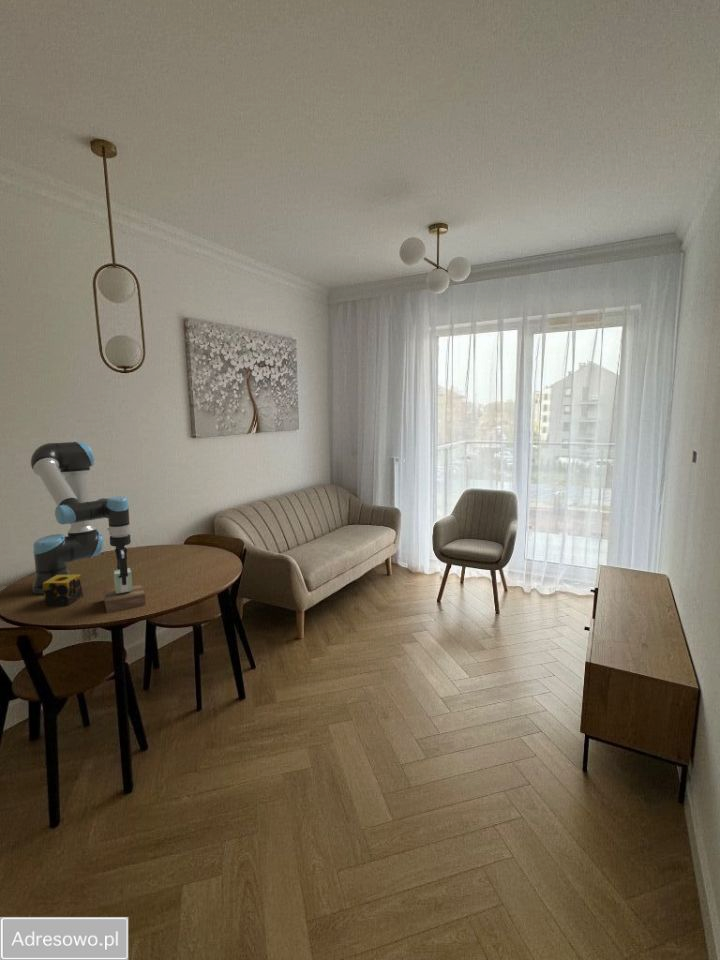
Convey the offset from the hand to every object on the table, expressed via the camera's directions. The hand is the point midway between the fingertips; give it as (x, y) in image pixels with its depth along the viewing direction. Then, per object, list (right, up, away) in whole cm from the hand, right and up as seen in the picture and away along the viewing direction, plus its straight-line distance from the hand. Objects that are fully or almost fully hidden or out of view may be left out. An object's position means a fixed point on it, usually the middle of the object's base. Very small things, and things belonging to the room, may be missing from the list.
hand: (123, 589), depth 191 cm
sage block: (0, 0, 0) cm, 0 cm away
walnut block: (0, -6, +1) cm, 6 cm away
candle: (-26, -6, +2) cm, 27 cm away
